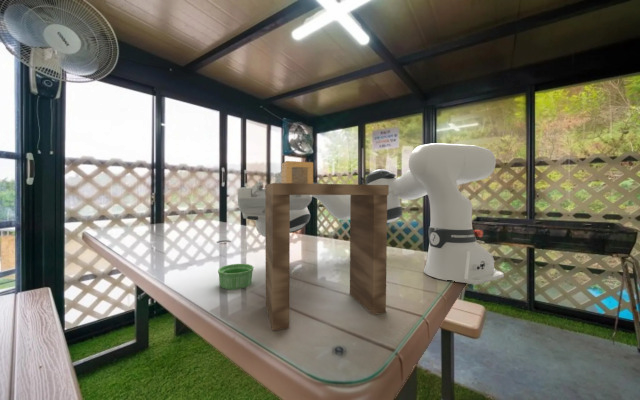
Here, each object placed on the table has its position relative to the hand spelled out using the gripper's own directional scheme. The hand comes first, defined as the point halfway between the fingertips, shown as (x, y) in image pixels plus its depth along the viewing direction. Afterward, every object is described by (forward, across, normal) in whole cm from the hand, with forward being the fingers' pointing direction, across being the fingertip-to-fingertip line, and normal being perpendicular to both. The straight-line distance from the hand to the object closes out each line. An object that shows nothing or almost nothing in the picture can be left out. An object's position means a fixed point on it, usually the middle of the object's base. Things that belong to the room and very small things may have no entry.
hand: (279, 183), depth 66 cm
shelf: (0, -7, -31) cm, 31 cm away
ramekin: (-19, +10, -20) cm, 30 cm away
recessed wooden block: (+8, 0, -6) cm, 10 cm away
